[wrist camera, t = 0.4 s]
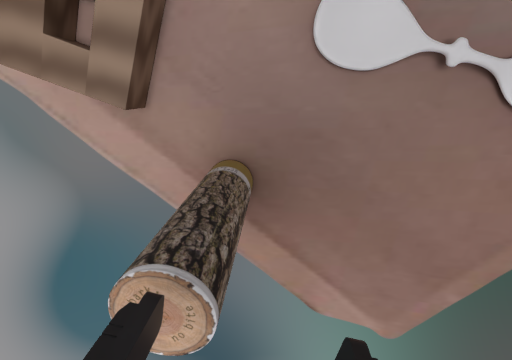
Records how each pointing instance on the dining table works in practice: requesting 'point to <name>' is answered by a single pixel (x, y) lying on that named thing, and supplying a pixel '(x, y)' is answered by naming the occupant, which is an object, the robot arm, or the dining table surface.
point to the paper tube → (191, 261)
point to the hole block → (84, 46)
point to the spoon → (390, 39)
